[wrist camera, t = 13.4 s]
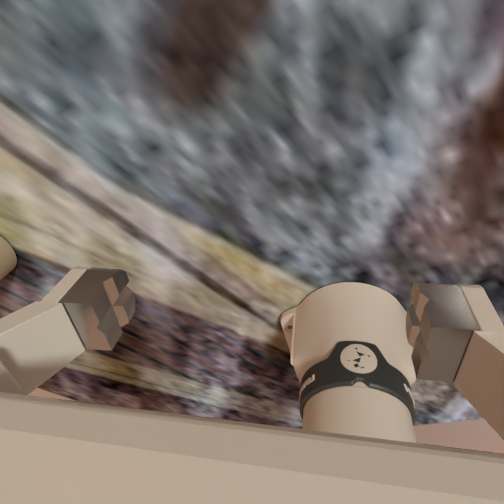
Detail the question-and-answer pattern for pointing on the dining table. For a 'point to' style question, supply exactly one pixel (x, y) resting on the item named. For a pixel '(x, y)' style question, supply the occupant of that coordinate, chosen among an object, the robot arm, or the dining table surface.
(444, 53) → the dining table surface
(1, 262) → the travel mug
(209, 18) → the dining table surface
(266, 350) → the dining table surface
